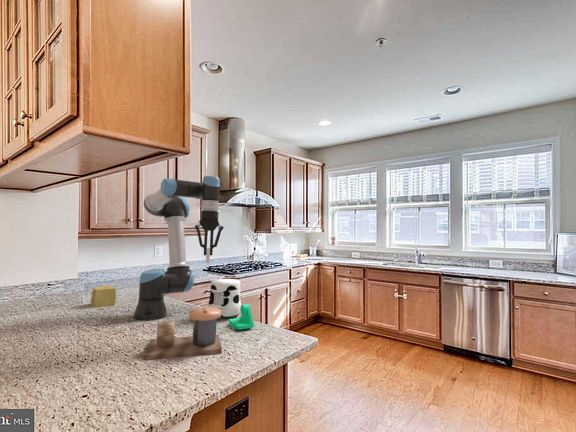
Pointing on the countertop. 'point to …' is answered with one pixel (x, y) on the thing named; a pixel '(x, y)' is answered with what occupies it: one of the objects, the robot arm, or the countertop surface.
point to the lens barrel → (204, 332)
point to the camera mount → (243, 319)
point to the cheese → (103, 296)
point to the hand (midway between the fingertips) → (207, 262)
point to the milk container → (225, 297)
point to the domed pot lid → (205, 313)
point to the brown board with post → (176, 344)
